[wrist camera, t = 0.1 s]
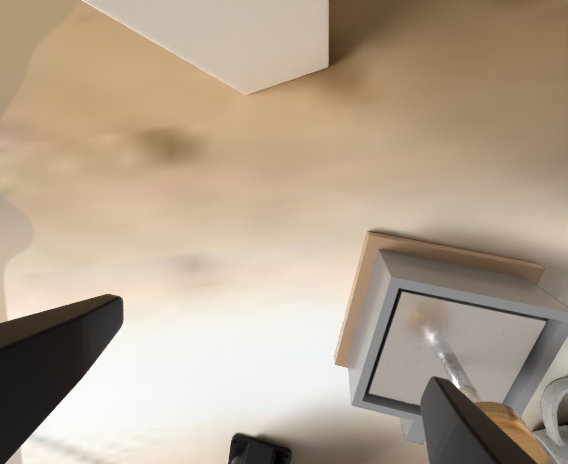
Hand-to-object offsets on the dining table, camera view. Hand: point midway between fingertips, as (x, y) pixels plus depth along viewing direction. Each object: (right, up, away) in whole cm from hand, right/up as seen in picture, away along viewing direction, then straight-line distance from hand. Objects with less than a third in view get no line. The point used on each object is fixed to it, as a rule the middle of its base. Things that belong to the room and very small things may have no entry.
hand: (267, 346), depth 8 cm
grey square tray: (+12, -3, +15) cm, 19 cm away
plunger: (+11, -5, +10) cm, 16 cm away
